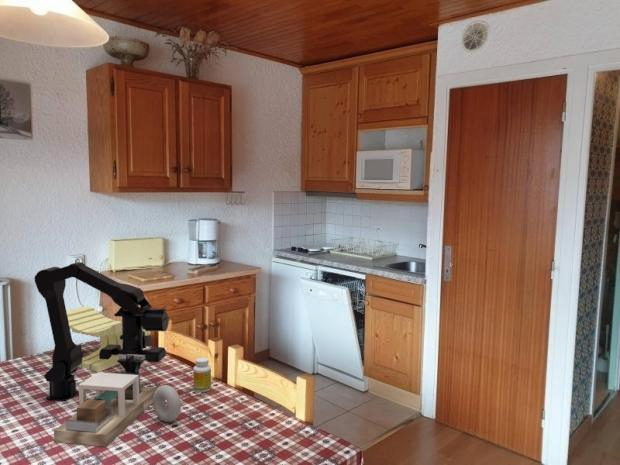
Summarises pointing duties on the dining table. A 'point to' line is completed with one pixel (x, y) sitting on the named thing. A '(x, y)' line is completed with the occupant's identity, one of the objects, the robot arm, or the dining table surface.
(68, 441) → the deck
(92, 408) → the block
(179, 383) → the dining table surface
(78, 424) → the carriage
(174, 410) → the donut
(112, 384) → the tunnel
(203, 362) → the supplement bottle
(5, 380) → the dining table surface
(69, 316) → the slatted curved stool
